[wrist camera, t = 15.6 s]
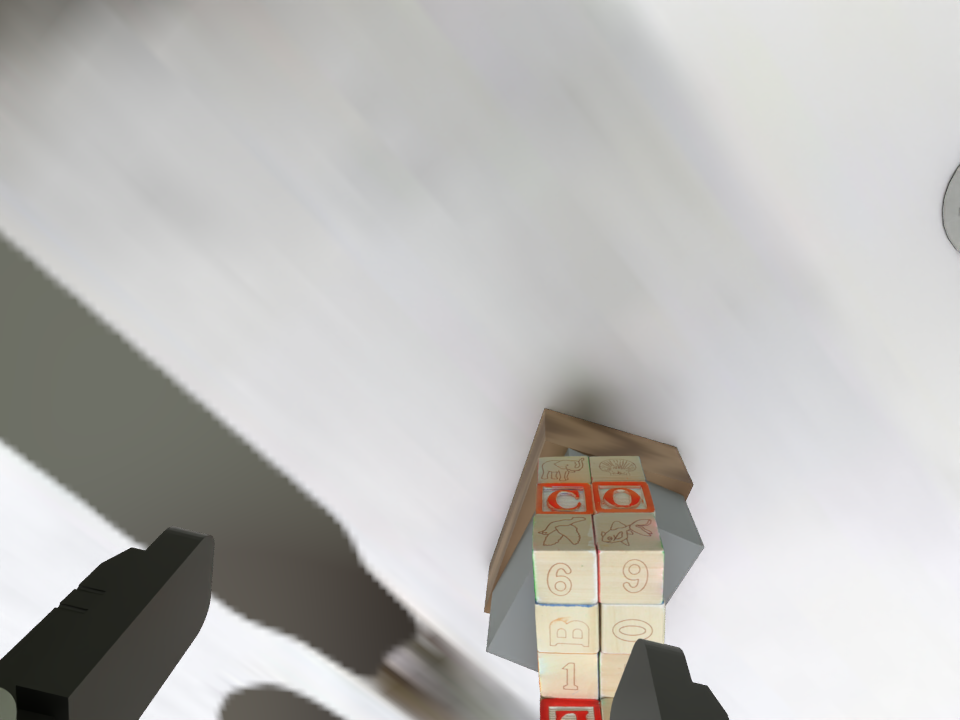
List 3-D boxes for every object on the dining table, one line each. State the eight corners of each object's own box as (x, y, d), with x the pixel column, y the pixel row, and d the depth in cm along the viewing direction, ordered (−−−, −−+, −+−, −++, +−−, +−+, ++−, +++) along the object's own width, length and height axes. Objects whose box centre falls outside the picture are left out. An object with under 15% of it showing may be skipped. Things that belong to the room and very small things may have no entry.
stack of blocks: (534, 453, 37) (530, 593, 26) (640, 452, 36) (684, 595, 25) (546, 718, 44) (546, 922, 33) (635, 721, 43) (667, 931, 32)
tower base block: (675, 445, 49) (693, 484, 44) (607, 598, 55) (615, 650, 49) (544, 406, 49) (545, 440, 44) (489, 563, 55) (484, 612, 49)
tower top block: (683, 495, 44) (704, 547, 38) (596, 634, 49) (603, 698, 43) (568, 447, 44) (572, 492, 38) (492, 592, 48) (486, 651, 43)
